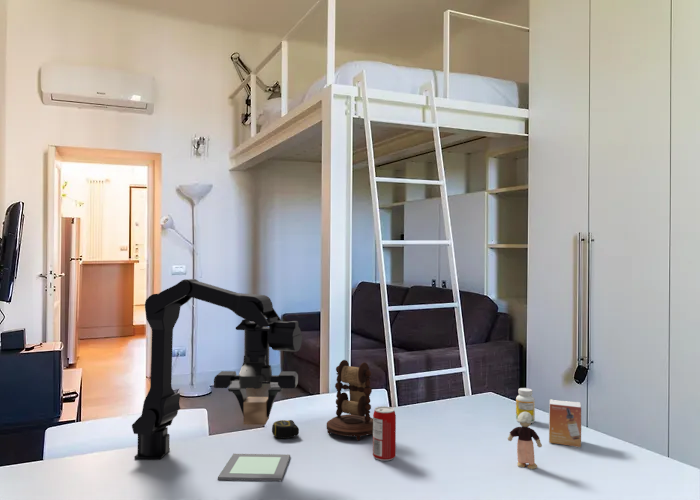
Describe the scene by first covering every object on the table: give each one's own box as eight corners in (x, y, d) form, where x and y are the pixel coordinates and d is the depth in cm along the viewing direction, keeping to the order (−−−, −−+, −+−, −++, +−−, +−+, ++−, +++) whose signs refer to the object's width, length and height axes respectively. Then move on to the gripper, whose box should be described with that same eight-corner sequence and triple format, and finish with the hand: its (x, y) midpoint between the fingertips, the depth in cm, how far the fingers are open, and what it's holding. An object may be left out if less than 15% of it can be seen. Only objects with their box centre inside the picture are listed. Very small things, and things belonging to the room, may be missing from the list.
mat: (217, 479, 115) (217, 476, 115) (233, 456, 129) (233, 453, 129) (281, 480, 115) (281, 477, 115) (290, 457, 129) (290, 454, 129)
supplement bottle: (530, 425, 155) (530, 392, 156) (513, 421, 159) (513, 389, 159) (537, 421, 160) (537, 389, 160) (519, 417, 163) (519, 386, 163)
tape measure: (299, 439, 142) (299, 425, 142) (274, 441, 140) (274, 427, 140) (294, 431, 148) (294, 418, 148) (270, 433, 146) (270, 420, 146)
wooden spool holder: (388, 430, 150) (389, 359, 150) (361, 445, 137) (362, 368, 138) (345, 421, 157) (345, 354, 158) (315, 435, 145) (316, 362, 145)
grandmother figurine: (541, 464, 125) (541, 411, 125) (541, 471, 121) (542, 415, 122) (507, 460, 127) (508, 408, 128) (507, 466, 124) (507, 412, 124)
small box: (548, 443, 140) (548, 403, 140) (549, 437, 145) (549, 398, 145) (581, 447, 137) (581, 407, 137) (580, 441, 142) (580, 401, 142)
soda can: (398, 455, 130) (398, 406, 131) (390, 462, 125) (391, 412, 126) (377, 451, 133) (378, 403, 133) (369, 459, 128) (369, 409, 128)
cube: (243, 424, 120) (243, 402, 120) (248, 417, 125) (248, 396, 125) (265, 424, 120) (265, 402, 120) (269, 418, 125) (269, 396, 125)
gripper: (207, 355, 115) (206, 427, 114) (292, 355, 114) (292, 428, 114) (220, 347, 126) (220, 412, 125) (298, 347, 126) (298, 413, 125)
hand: (256, 416), depth 122 cm, fingers closed on cube, 5 cm apart
